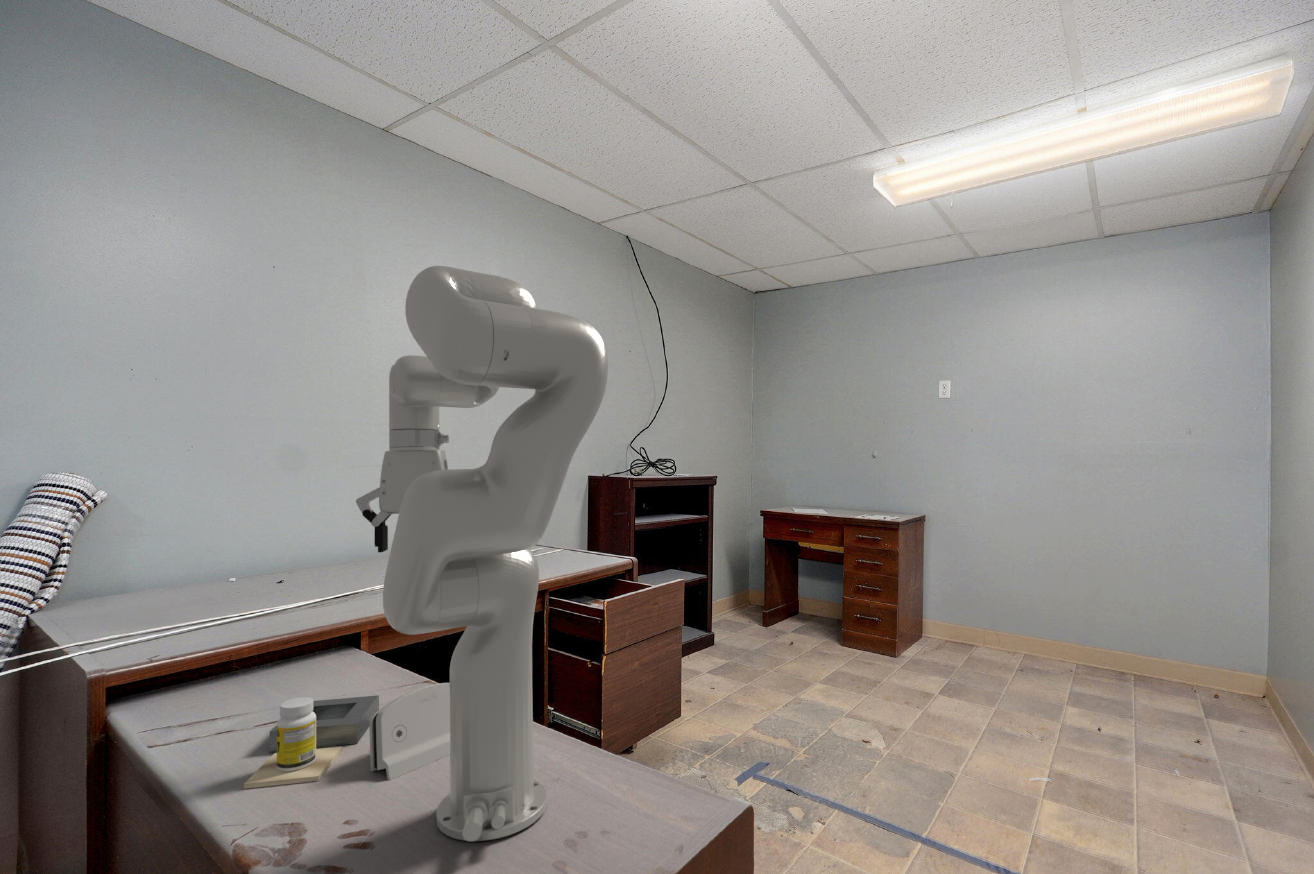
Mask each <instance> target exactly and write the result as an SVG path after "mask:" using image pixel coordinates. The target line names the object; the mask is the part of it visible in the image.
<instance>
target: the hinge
mask: <svg viewBox="0 0 1314 874" xmlns="http://www.w3.org/2000/svg"><path fill="white" fill-rule="evenodd" d="M369 725H370V726H369V750H370V751H369V753H370V756H369V757H370V771H371V772H374V771H380V770H384V769H385V772H386V778H387V780H388V781H391V780H394V779H396V778H398V777H401V776H403V775H405V774H408V773H410V772H412V771H415V770H417V769H420V768H422V767H425V766H427V765H429V764H431V763H434V762H436V761H439V760H441V759H443V758H446V757H448V756H450V682H441V683H436V684H430V685H427V686H423V687H421V688H417V689H414V690H411V691H409V692H407V693H405V694H402V695H401V696H398V697H397V698H395V699H393V700H392V701H390V702H388V703H386V704H385V705H384V706H383V707H381V708H379V711H377V712H376V713H375V714H374V715H373V716H372V717H371V719H370V722H369Z"/></svg>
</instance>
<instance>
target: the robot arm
mask: <svg viewBox="0 0 1314 874" xmlns="http://www.w3.org/2000/svg"><path fill="white" fill-rule="evenodd" d="M406 294H407V295H406V298H405V306H404V307H405V309H404V310H405V311H404V312H405V318H406V324H407V327H408V329H409V331H410V333H411V336H412V338H413V339H414V340H415V342H416V343H417V345H418V346H419V348H420V349H421V350H422V351H423V352H424V354H425V355H424V356H423V355H414V354H413V355H410V354H409V355H403V356H401V357H399V358H398V359H397V360H396V361H395V363H394V364H393V365H392V366H391V368H390V370H389V376H388V380H389V381H388V383H389V385H388V392H389V393H388V404H389V405H388V406H389V407H388V411H389V412H388V421H389V423H388V429H389V431H388V447H389V448H388V450H385V451H384V454H383V459H382V465H381V470H380V479H379V480H380V481H379V487H377V488H375V489H374V490H372V491H370V492H368V493H365V494H363V495H362V496H359V497H358V498H357V499H356V500H355V503H356V505H357V507H358V509H359V511H360V512H361V513H362V516H363V517H364V518H365V519H366V521H368V522H369V523H370V524H371V526H372V527H374V548H377V553H383V552H386V551H388V548H389V546H388V545H389V526H388V525H386V521H388V519H389V518H390V517H391V515H394V514H397V515H398V517H397V521H396V526H395V530H394V535H393V539H392V543H391V548H390V552H389V557H388V562H387V565H386V566H387V567H386V571H385V577H384V580H383V581H384V582H383V586H382V589H383V591H382V608H383V612H384V616H385V619H386V621H387V623H388V625H389V626H391V628H392V629H394V630H395V631H396V632H398V633H401V634H404V635H409V636H410V635H412V636H413V635H421V634H429V633H434V632H440V631H445V630H451V629H457V628H461V627H466V628H465V630H464V632H463V634H462V635H461V636H460V639H459V640H458V642H457V644H456V645H455V648H454V650H453V653H452V654H451V655H452V656H451V660H450V666H449V683H450V755H449V757H450V758H449V759H450V760H449V768H450V769H449V772H450V773H449V774H450V775H449V777H450V780H449V781H450V783H449V784H450V792H449V793H448V794H447V795H445V797H443V798H442V800H441V801H440V803H439V804H438V805H437V808H436V810H435V812H436V814H435V815H436V819H435V821H436V825H437V828H438V829H439V831H440V832H442V833H443V834H444V835H446V836H447V837H450V838H453V839H455V840H460V841H466V842H483V841H484V842H485V841H491V840H497V839H502V838H504V837H509V836H511V835H514V834H516V833H519V832H520V831H522V830H525V829H526V828H527V829H528V827H530V826H531V825H533V824H534V823H536V821H538V819H540V818H541V817H542V815H543V814H544V812H545V811H546V808H547V805H548V793H547V789H546V787H545V786H544V784H542V783H541V782H539V780H536V779H535V776H534V772H535V771H534V769H535V768H534V717H533V715H534V713H533V709H534V708H533V706H534V705H533V630H534V629H533V628H534V618H535V609H536V605H537V604H536V603H537V597H538V592H539V585H540V570H539V569H540V567H539V564H538V560H537V558H536V556H535V554H534V552H532V550H531V548H532V547H534V546H535V545H537V544H538V543H539V542H540V541H541V539H542V538H543V536H544V534H545V532H546V530H547V528H548V525H549V524H550V523H549V522H550V520H551V519H552V515H553V512H554V509H555V507H556V504H557V502H558V499H559V496H560V493H561V490H562V488H563V485H564V482H565V479H566V477H567V474H568V469H569V467H570V464H571V462H572V460H573V457H574V455H575V453H576V451H577V449H578V447H579V445H580V443H581V442H582V440H583V438H584V437H585V435H586V433H587V432H588V430H589V428H590V427H591V425H592V423H593V422H594V419H596V418H595V417H596V415H597V413H598V412H599V410H600V407H601V405H602V401H603V399H604V396H605V393H606V390H607V389H606V388H607V382H608V374H609V362H608V361H609V360H608V352H607V348H606V344H605V342H604V339H603V338H602V336H601V334H600V333H599V332H598V330H597V329H596V328H595V327H593V326H592V325H591V324H589V323H588V322H586V320H582V319H580V318H579V317H575V316H573V315H570V314H566V313H561V312H557V311H554V310H553V311H551V310H547V309H541V308H537V303H536V301H535V298H534V297H533V296H532V294H531V293H530V291H529V290H528V289H527V288H525V287H524V286H523V285H522V284H520V283H519V282H517V281H514V280H512V279H510V278H508V277H507V278H506V277H503V276H499V275H494V274H493V275H492V274H488V273H482V272H478V271H472V270H466V269H461V268H457V267H451V266H445V265H433V266H432V265H431V266H429V267H428V266H427V267H426V268H425V269H423V270H421V271H420V272H419V273H417V274H416V276H415V277H414V279H413V280H412V282H411V283H410V286H409V287H408V291H407V293H406ZM499 388H505V389H506V388H507V389H508V388H512V389H522V390H525V389H527V390H535V392H534V394H533V395H532V396H531V397H530V398H529V399H528V400H526V401H524V402H523V403H522V404H521V405H520V406H518V407H517V408H516V409H515V410H514V411H512V413H510V415H509V416H508V417H507V418H506V419H505V420H504V422H502V423H501V425H500V426H499V427H498V429H497V431H496V433H495V435H494V436H493V440H492V444H491V448H490V451H489V454H488V457H487V459H486V462H485V463H484V464H483V465H481V466H479V467H475V468H457V469H449V467H448V459H447V455H446V451H445V450H441V449H440V448H441V446H442V445H443V444H448V443H449V442H450V437H449V434H443V433H441V431H440V408H459V409H467V408H468V409H471V408H477V407H480V406H482V405H484V404H485V403H486V402H488V401H489V400H491V399H492V398H493V397H495V395H497V393H498V391H499ZM376 499H378V505H379V510H380V511H379V512H378V513H377V512H375V511H374V510H373V509H372V508H371V505H370V503H371V502H372V501H375V500H376Z"/></svg>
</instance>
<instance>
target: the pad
mask: <svg viewBox="0 0 1314 874" xmlns="http://www.w3.org/2000/svg"><path fill="white" fill-rule="evenodd" d="M342 746H343V745H340V746H330V747H320V748H316V760H315V761H314V763H312V764H311V765H310V766H308V767H305V768H303V769H299V770H295V771H289V772H283V771H280V770H278V769H277V752H273V754H272V755H271V756H270V757H269V758H268V759H267V760H266V761H265V762H264V763H263V764H262V765H261V766H260V767H259V768H258V769H257V770H256V771H255V772H254V773H253V774H252V775H251V776H250V777H249V778H248V779H247V780H246V781H245V782H244V783H243V790H244V789H245V790H247V789H253V788H256V789H257V788H261V787H262V788H263V787H273V786H283V785H290V784H291V785H292V784H300V783H311V782H318V781H320V780H321V779H322V777H323V776H324V774H325V773H326V772H327V771H328V769H329V768H330V767H331V765H332V764H333V763H334V762H335V760H336V759H337V758H338V756H339V755H340V754H341V753H342V751H343V750H342V749H343V748H342Z"/></svg>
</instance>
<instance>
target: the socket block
mask: <svg viewBox="0 0 1314 874" xmlns="http://www.w3.org/2000/svg"><path fill="white" fill-rule="evenodd" d="M313 706H314V708H313V712H314V713H315V714H316V749H320V748H330V747H340V746H347V745H358V744H359V743H358V742H360V741H361V740H362V737H363V736H364V735H365V733H366V732H367V730H368V729H370V725H369V722H370V719H371V717H372V716H373V715H374V714H375V713H376V712H377V711H379V710H380V695H369V696H368V695H367V696H358V697H357V696H356V697H345V698H334V699H333V698H332V699H321V700H319V699H318V700H313ZM269 753H277V724H276V725H275V726H274V727H273V728H271V730H269Z"/></svg>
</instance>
